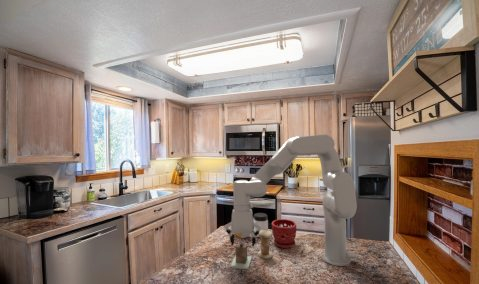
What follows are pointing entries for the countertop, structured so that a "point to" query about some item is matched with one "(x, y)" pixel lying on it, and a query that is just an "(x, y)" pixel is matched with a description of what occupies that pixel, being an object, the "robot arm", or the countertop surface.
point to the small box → (242, 234)
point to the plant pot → (284, 233)
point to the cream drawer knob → (265, 244)
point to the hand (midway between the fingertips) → (243, 244)
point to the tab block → (241, 253)
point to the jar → (261, 221)
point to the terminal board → (240, 265)
